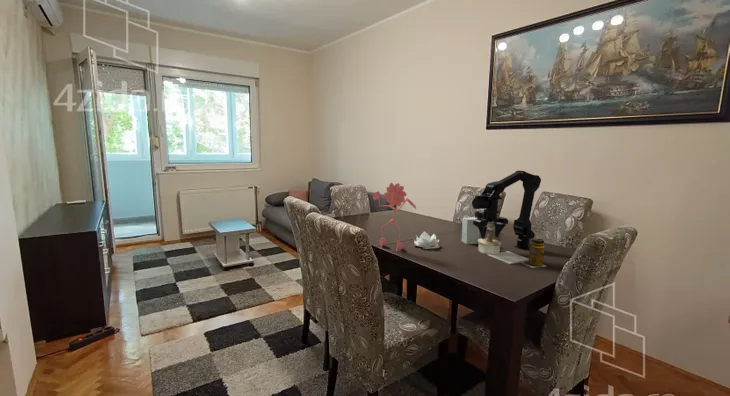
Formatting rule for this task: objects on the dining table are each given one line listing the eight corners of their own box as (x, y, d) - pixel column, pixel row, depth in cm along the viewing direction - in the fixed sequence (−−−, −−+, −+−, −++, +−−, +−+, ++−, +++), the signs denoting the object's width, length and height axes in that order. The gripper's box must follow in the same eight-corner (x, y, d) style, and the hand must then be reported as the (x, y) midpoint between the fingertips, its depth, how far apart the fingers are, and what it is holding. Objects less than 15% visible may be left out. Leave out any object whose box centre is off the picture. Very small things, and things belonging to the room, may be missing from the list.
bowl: (488, 248, 180) (489, 239, 179) (503, 253, 171) (504, 244, 170) (474, 250, 176) (474, 241, 175) (488, 256, 166) (489, 246, 166)
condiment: (547, 266, 153) (549, 241, 151) (532, 268, 150) (534, 242, 149) (535, 261, 160) (537, 237, 158) (520, 262, 157) (522, 238, 156)
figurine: (410, 256, 164) (413, 185, 159) (366, 247, 178) (367, 182, 173) (422, 249, 177) (425, 183, 172) (380, 241, 191) (382, 180, 186)
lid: (489, 238, 180) (490, 231, 179) (506, 244, 170) (507, 236, 169) (472, 241, 175) (473, 232, 175) (489, 247, 165) (490, 238, 164)
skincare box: (474, 242, 192) (475, 216, 190) (479, 244, 186) (481, 218, 184) (460, 242, 190) (462, 217, 188) (466, 245, 184) (467, 219, 182)
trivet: (507, 252, 173) (507, 251, 173) (530, 260, 161) (530, 259, 161) (487, 255, 167) (487, 254, 167) (509, 264, 155) (509, 263, 155)
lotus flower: (440, 245, 185) (441, 229, 184) (439, 253, 171) (440, 236, 170) (414, 243, 189) (415, 227, 188) (411, 250, 174) (411, 234, 173)
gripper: (493, 204, 181) (491, 232, 183) (466, 206, 173) (464, 235, 175) (509, 208, 171) (507, 237, 173) (482, 210, 163) (480, 241, 165)
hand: (489, 237), depth 172 cm, fingers open, 9 cm apart
